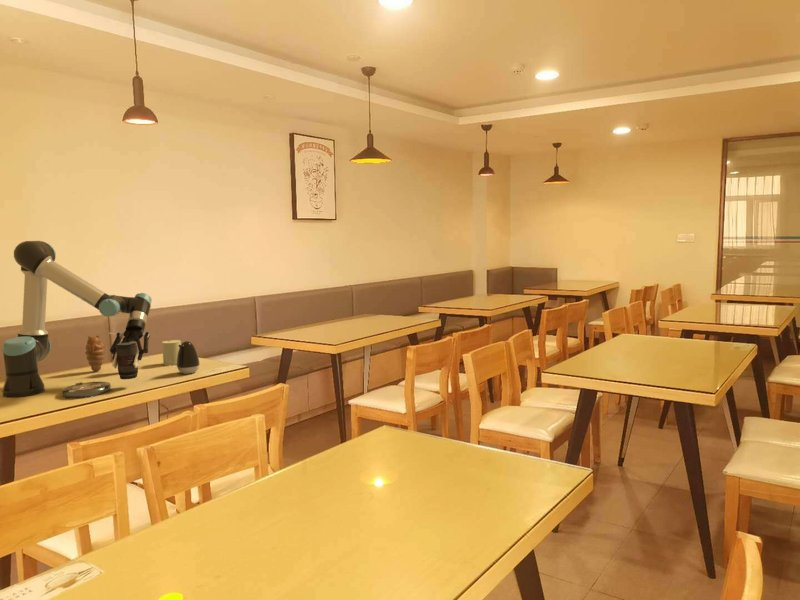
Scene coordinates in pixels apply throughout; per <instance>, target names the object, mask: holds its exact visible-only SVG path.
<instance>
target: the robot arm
mask: <svg viewBox="0 0 800 600" xmlns="http://www.w3.org/2000/svg"><path fill="white" fill-rule="evenodd" d="M13 258H14V260H15V263H17V264H18V266H20V272H21V273H22V274H23V275H24V281H23V282H24V284H23V285H24V286H23V300H22V301H23V302H22V303H23V305H22V320H21V321H22V324H21V328H20V330H19V331H18V332H17V336H16V337H14V338H13V337H12V338H8V339H7V340H5V341H4V342H3V344H2V354H3V362H4V370H5V381H4V384H3V387H2V397H3V398H22V397H28V396H33V394H34V395H38V394H39V393H40V392H41V393H43V392H45V390H46V388H45V383H44V382H43V379H42V378H41V376H40V373H39V367H38V366H39V365H38V363H39V362H40V361H43V360H44V359H45V358H47V356H48V355H49V354H50V353H51V348H52V344H51V341H50V340H49V332H48V330H46V327H45V326H46V310H47V309H46V308H47V293H48V291H47V290H48V281H50V282H52V283H54V284H55V285H57V286H58V287H61V289H64V290H65V291H66V292H68V293H70V294H72V295H73V296H75V297H77V298H79V299H80V300H81V301H83V302H86V303H87V304H88V305H90V306H92V307H93V308H95V309H97V310H98V311H99V313H100V314H101V315H102V316H104V317H114V316H116V315H117V314H129V315H128V319H127V323H126V326H125V330H124V332H122V333H120V332H116V333H117V334H116V337H115V339H114V341H113V343H112V345H111V347H110V349H109V352H110V353H111V355H112V358H111V359H112V361H113V362H112V367H113V369H117V368H118V367H117V364H118V360H117V350H116V347H117V344H120V343H127V342H135V343H136V345H137V353H136V356H135V360H134V364H133V365H134V366H135V368H137V366H138V367H139V363H140V361H142V359H143V355H144V354H148V352H149V339H150V336H151V335H150V333H149V332H148V331H146V332H144V331H145V329H146V324H147V321H148V316H149V313H150V311H151V308H152V307H151V306H152V305H151V304H152V297H151V296H150V295H149V294H147V293H145V292H140V293H137V294H135V296H134V297H133V296H132V297H130V296H124V295H122V296H121V295H116V294H108V293H106V292H105V291H103V290H101V289H99V288H98V287H96V286H94V285H93V284H92V283H90V282H88V281H87V280H85V279H83V278H82V277H81V276H79V275H77V274H75V273H73V272H72V271H71V270H69V269H67V268H66V267H64V266H62V265H61V264H59V263H57V262H56V258H57V255H56V250H55V249H54V247H53V246H52V245H51V244H50V243H49V242H45V241H42V240H26V241H22V242H20V243H18V244H17V245H16V246H15V248H14V250H13ZM142 338H143V347H142V344H141V339H142ZM121 339H122V342H121ZM41 393H40V394H41Z"/></svg>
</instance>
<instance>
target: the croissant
mask: <svg viewBox="0 0 800 600" xmlns="http://www.w3.org/2000/svg"><path fill="white" fill-rule="evenodd" d="M105 346H106V345H105V344H104V343H103V342H102V340H101V339H100V335H99V334H97V335H95V336H87V341H86V345H85V356H86V360H87V362H88V365H90V367H91V368H90V369H91V370H92V371H93V372H99V371H100V370H101V369H102V365H103V363H104V360H105V357H104V354H105V350H104V349H105Z"/></svg>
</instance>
